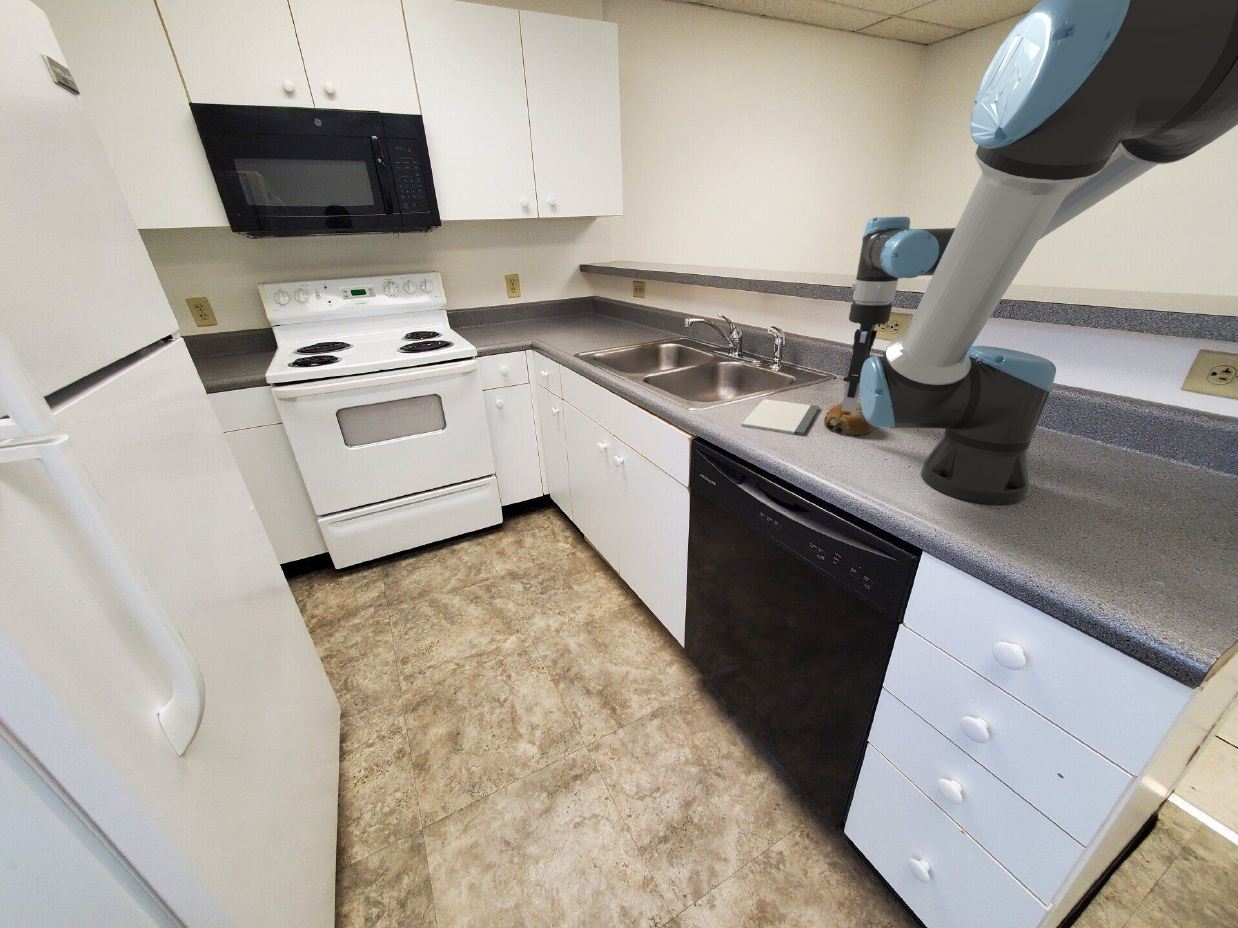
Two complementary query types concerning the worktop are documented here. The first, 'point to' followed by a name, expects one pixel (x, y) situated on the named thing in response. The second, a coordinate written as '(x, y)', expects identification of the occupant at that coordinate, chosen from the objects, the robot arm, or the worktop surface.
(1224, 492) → the worktop surface
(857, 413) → the bread roll
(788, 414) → the mat
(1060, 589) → the worktop surface
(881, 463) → the worktop surface
